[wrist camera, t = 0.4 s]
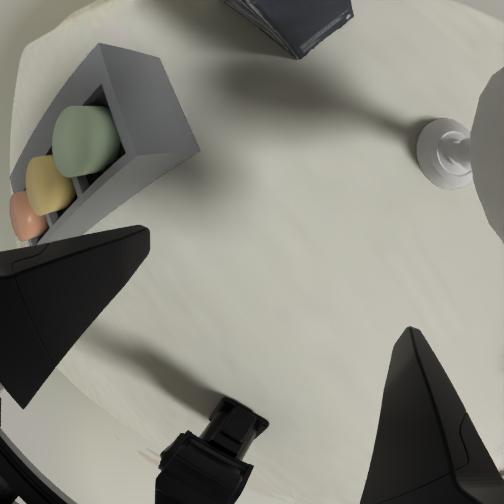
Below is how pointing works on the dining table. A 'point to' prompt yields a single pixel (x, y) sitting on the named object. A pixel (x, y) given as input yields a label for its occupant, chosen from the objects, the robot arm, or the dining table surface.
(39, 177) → the button ochre
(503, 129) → the chalice
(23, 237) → the button terracotta
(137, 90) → the grey compartment box
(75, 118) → the button sage
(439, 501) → the robot arm
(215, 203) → the dining table surface
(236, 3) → the small box
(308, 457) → the dining table surface
